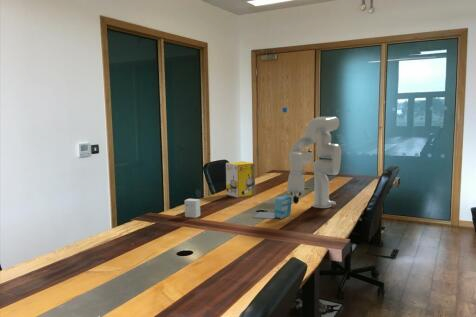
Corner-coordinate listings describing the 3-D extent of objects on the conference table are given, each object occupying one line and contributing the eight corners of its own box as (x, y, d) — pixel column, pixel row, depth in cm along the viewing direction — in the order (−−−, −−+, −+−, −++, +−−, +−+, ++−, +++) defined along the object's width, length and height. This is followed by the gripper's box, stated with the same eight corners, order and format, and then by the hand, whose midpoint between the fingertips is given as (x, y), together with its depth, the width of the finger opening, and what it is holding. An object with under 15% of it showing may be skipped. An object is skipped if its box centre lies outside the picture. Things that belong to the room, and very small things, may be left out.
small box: (200, 215, 247) (200, 199, 246) (195, 218, 242) (195, 201, 241) (189, 214, 251) (189, 198, 250) (184, 216, 246) (184, 200, 245)
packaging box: (255, 195, 309) (255, 163, 306) (238, 197, 300) (237, 164, 297) (243, 191, 322) (242, 161, 319) (226, 194, 313) (225, 162, 310)
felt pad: (279, 213, 250) (279, 213, 250) (274, 219, 237) (274, 218, 237) (259, 212, 255) (259, 211, 255) (253, 217, 241) (253, 217, 241)
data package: (280, 219, 237) (281, 199, 235) (273, 217, 239) (275, 198, 237) (290, 215, 246) (291, 196, 244) (284, 213, 249) (285, 194, 247)
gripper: (309, 172, 238) (309, 202, 240) (285, 171, 243) (284, 201, 245) (307, 174, 231) (307, 205, 233) (282, 173, 236) (282, 203, 238)
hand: (295, 203), depth 239 cm, fingers closed
